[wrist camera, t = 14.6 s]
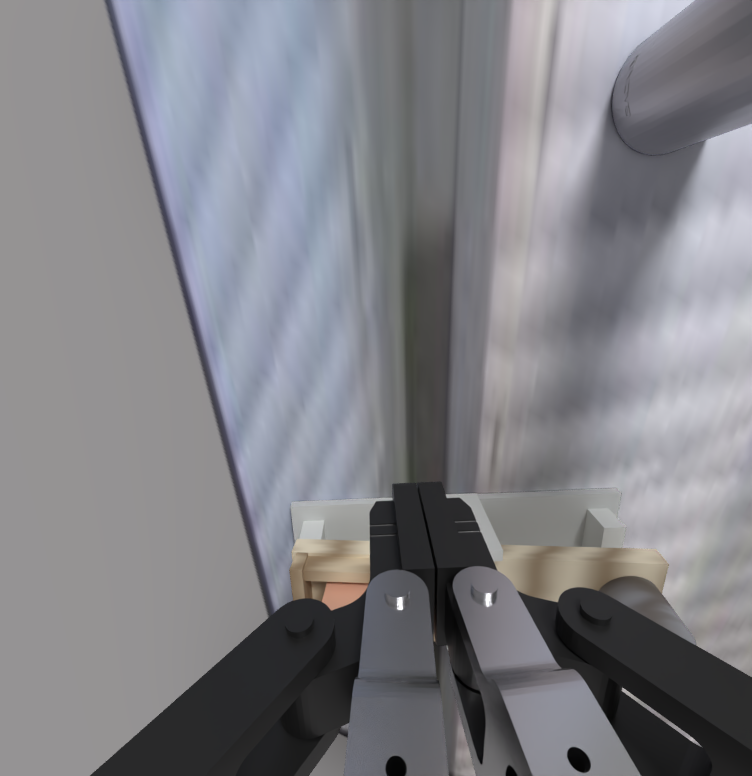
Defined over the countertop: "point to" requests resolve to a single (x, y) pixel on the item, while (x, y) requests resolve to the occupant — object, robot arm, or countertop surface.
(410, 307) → the countertop surface
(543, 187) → the countertop surface
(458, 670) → the robot arm
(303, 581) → the beam
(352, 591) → the rider
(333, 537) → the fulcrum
